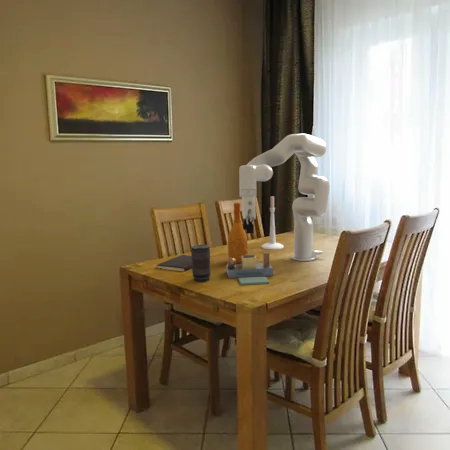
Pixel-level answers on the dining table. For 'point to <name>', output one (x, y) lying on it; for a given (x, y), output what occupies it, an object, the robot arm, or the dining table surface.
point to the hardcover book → (177, 263)
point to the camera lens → (200, 262)
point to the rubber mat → (253, 280)
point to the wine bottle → (237, 238)
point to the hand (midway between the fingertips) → (248, 231)
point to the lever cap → (249, 261)
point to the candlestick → (272, 231)
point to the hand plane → (239, 271)
